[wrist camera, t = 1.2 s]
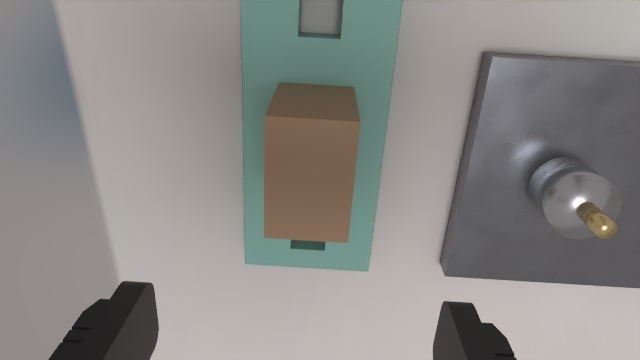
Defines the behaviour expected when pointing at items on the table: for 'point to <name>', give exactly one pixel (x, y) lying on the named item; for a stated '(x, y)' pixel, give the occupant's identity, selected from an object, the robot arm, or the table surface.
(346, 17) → the board
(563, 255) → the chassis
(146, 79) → the table surface
